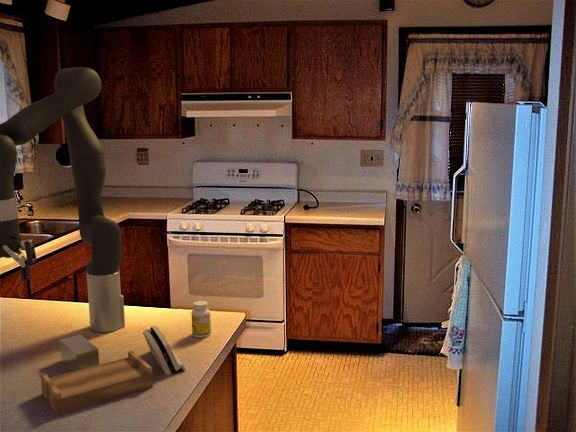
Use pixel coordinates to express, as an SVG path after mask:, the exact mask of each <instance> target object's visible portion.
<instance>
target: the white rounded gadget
mask: <svg viewBox="0 0 576 432" xmlns="http://www.w3.org/2000/svg"><path fill="white" fill-rule="evenodd" d="M142 334H143V337H144V339H145V341H146V343H147V345H148V348H149V350H150V353H151V354H152V356H154V358H155V361H157V363H158V364H159V366H160V367H161V370H162V371H163V372H164V373H165V375H166V376H170V375H171V374H172V372H173V371H176V372H177V371H178V370H180V369H182V370H183V372H186V371H187V370H186V367H185V365H184V364H183V363H182V361H181V359H180V358H179V357H178V356H177V355H176V353H175V352H174V351H173V349H172V348H171V346H170V344H169V342H168V339H167V338H166V337H165V336H164V334H163V333H162V331H161V330H160V328H159V327H158V326H157V325H152V326H150V328H149V329H147V328H146V329H144V330H143V331H142Z"/></svg>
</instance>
